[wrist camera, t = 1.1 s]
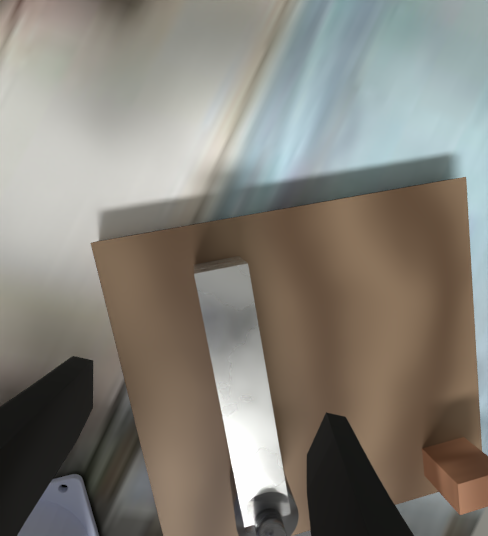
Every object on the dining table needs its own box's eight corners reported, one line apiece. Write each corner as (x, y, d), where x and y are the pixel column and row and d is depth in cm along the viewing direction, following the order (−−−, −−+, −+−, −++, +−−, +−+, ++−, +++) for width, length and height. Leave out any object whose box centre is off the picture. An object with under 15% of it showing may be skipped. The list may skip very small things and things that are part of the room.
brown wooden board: (173, 547, 22) (168, 631, 17) (98, 240, 18) (69, 248, 14) (465, 462, 24) (526, 516, 20) (446, 179, 21) (514, 169, 17)
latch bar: (286, 492, 20) (310, 561, 16) (234, 506, 20) (245, 581, 16) (246, 254, 18) (262, 265, 14) (186, 266, 18) (184, 280, 13)
